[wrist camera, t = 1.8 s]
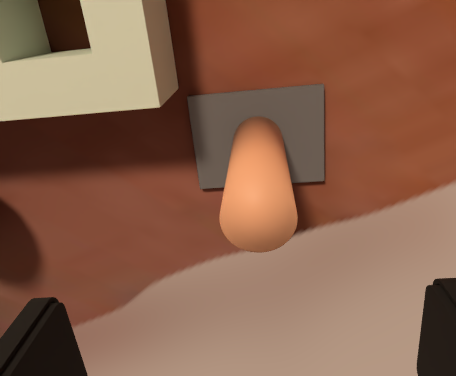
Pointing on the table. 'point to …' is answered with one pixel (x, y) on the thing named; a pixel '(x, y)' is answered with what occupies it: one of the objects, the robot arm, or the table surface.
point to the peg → (258, 189)
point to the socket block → (86, 61)
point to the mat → (264, 107)
